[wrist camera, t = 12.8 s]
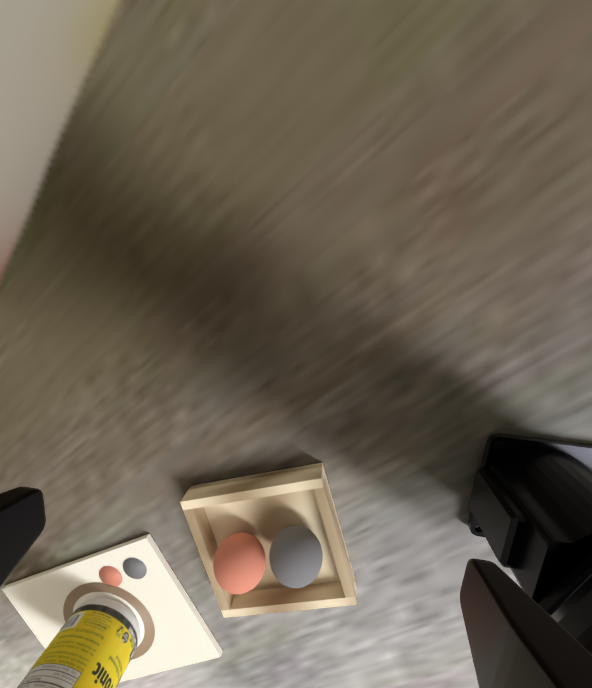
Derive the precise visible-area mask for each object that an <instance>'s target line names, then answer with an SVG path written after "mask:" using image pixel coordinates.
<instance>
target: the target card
mask: <svg viewBox="0 0 592 688" xmlns="http://www.w3.org/2000/svg"><path fill="white" fill-rule="evenodd" d="M2 590H3V592H4V593H5V594H6V596H7V597H8V598H9V600H10V601H11V603H12V604H13V605H14V607H15V608H16V609H17V611H18V612H19V614H20V615H21V616H22V618H23V619H24V620H25V622H26V623H27V624H28V626H29V627H30V629H31V630H32V631H33V633H34V634H35V635H36V637H37V638H38V640H39V641H40V642H41V644H42V645H43V646H44V648H45V649H46V648H47V647H48V645H49V644H50V643H51V641H52V640H53V639H54V637H55V636H56V635H57V633H58V632H59V631H60V629H61V628H62V627H63V625H64V624H65V623H66V621H67V620H68V619H69V617H70V616H71V615H72V614H73V612H74V611H75V610H76V609H77V607H78V606H79V605H81V604H82V603H83V602H85V601H87V600H89V599H93V598H107V599H111V600H114V601H117V602H119V603H121V604H123V605H124V606H126V607H127V608H128V609H129V610H130V611H131V612H132V613H133V614H134V616H135V617H136V619H137V621H138V623H139V626H140V632H141V634H140V641H139V644H138V646H137V648H136V650H135V652H134V655H133V657H132V659H131V661H130V662H129V664H128V666H127V668H126V670H125V672H124V674H123V676H122V678H121V680H120V682H123V681H127V680H131V679H135V678H139V677H143V676H146V675H150V674H154V673H158V672H162V671H166V670H170V669H174V668H178V667H182V666H186V665H190V664H194V663H198V662H202V661H206V660H210V659H214V658H218V657H221V654H222V649H221V648H220V646H219V644H218V643H217V641H216V640H215V638H214V636H213V635H212V633H211V632H210V630H209V628H208V627H207V625H206V624H205V622H204V620H203V619H202V617H201V616H200V614H199V612H198V611H197V609H196V608H195V606H194V604H193V603H192V601H191V600H190V598H189V596H188V595H187V593H186V591H185V590H184V588H183V587H182V585H181V583H180V582H179V580H178V579H177V577H176V575H175V574H174V572H173V571H172V569H171V567H170V566H169V564H168V563H167V561H166V559H165V558H164V556H163V555H162V553H161V551H160V550H159V548H158V547H157V545H156V543H155V542H154V540H153V539H152V537H151V535H150V534H147V535H144V536H141V537H139V538H136V539H133V540H130V541H127V542H125V543H122V544H119V545H116V546H114V547H111V548H108V549H105V550H102V551H100V552H97V553H94V554H91V555H88V556H86V557H83V558H80V559H77V560H74V561H72V562H69V563H66V564H63V565H60V566H58V567H55V568H52V569H49V570H46V571H44V572H41V573H38V574H35V575H33V576H30V577H27V578H24V579H21V580H19V581H16V582H13V583H10V584H7V585H6V586H5V587H4V588H3V589H2Z"/></svg>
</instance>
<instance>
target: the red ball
mask: <svg viewBox="0 0 592 688" xmlns="http://www.w3.org/2000/svg"><path fill="white" fill-rule="evenodd" d="M265 566H266V556H265V551H264V548H263V546H262V544H261V543H260V541H259V540H258V539H257V538H256V537H255V536H253V535H251V534H249V533H235V534H233V535H231V536H229V537H227V538H226V539H225V540H224V541H223V542H222V543H221V544H220V546H219V547H218V549H217V551H216V554H215V557H214V563H213V570H214V575H215V578H216V581H217V582H218V584H219V585H220V587H221V588H222V589H224V590H225V591H226V592H228V593H231V594H244V593H246V592H248V591H250V590H252V589H253V588H254V587H255V586H256V585H257V584H258V583H259V581H260V580H261V578H262V576H263V574H264V571H265Z"/></svg>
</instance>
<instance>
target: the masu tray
mask: <svg viewBox="0 0 592 688" xmlns="http://www.w3.org/2000/svg"><path fill="white" fill-rule="evenodd" d="M180 503H181V506H182V509H183V511H184V514H185V517H186V519H187V522H188V524H189V527H190V530H191V532H192V535H193V538H194V540H195V543H196V545H197V548H198V551H199V553H200V556H201V559H202V561H203V564H204V566H205V569H206V572H207V574H208V577H209V580H210V582H211V585H212V588H213V590H214V593H215V595H216V598H217V601H218V603H219V606H220V609H221V611H222V614H223V616H224V618H226V617H237V616H247V615H257V614H267V613H277V612H287V611H297V610H307V609H317V608H327V607H338V606H348V605H357V593H356V580H355V576H354V573H353V569H352V566H351V562H350V559H349V555H348V552H347V548H346V544H345V541H344V537H343V534H342V530H341V527H340V523H339V520H338V516H337V513H336V509H335V505H334V502H333V498H332V495H331V491H330V488H329V484H328V481H327V477H326V474H325V470H324V466H323V463H317V464H311V465H306V466H300V467H294V468H289V469H283V470H277V471H271V472H266V473H260V474H254V475H249V476H243V477H237V478H232V479H226V480H220V481H215V482H209V483H203V484H198V485H192V486H190V488H189V489H188V491H187V492H186V494H185V495H184V497H183V498H182V500H181V501H180ZM292 525H300V526H303V527H306V528H308V529H310V530H311V531H312V532H313V533H314V534H315V535H316V537H317V538H318V540H319V542H320V544H321V548H322V553H323V560H322V566H321V569H320V572H319V574H318V575H317V577H316V578H315V579H314V581H313V582H311V583H310V584H309V585H307V586H305V587H302V588H290V587H287V586H285V585H283V584H282V583H280V582H279V581H278V580H277V578H276V577H275V576H274V574H273V572H272V569H271V566H270V561H269V552H270V547H271V544H272V542H273V540H274V538H275V536H276V535H277V534H278V533H279V532H280V531H281V530H282V529H284V528H286V527H288V526H292ZM235 533H249V534H251V535H253V536H255V537H256V538H257V539H258V540H259V541H260V543H261V544H262V546H263V548H264V551H265V556H266V566H265V571H264V574H263V576H262V578H261V580H260V581H259V583H258V584H257V585H256V586H255V587H254V588H253V589H252V590H250V591H248V592H246V593H244V594H231V593H228V592H226V591H225V590H224V589H222V588H221V587H220V585H219V584H218V582H217V581H216V578H215V575H214V570H213V563H214V557H215V554H216V551H217V549H218V547H219V546H220V544H221V543H222V542H223V541H224V540H225V539H226V538H227V537H229V536H231V535H233V534H235Z"/></svg>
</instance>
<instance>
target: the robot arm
mask: <svg viewBox="0 0 592 688" xmlns="http://www.w3.org/2000/svg"><path fill="white" fill-rule="evenodd" d="M498 441H501V444H500V445H497V446H495V444H496V442H498ZM469 508H470V510H471V512H470V516H469V520H468V526H469V528H470V530H471V532H472V533H473V534H474V535H476V536H481V537H486V539H487V541H488V543H489V545H490V546H491V548H492V550H493V552H494V554H495V556H496V557H497V559H498V561H499V562H500V563H501V565H502V566H503V567H507V568H511V570H512V572H513V574H514V575H515V577H516V579H517V581H518V582H519V584H520V586H521V588H522V589H521V588H520V587H519V586H518V585H517V584H516V583H515V582H514V581H513V580H512V579H511V578H510V577H509V576H508V575H507V574H505V573H504V572H503V571H502V570H501V569H500V568H499V567H498V566H497V565H496V564H494V563H493V562H490V561H486V560H480V559H470V560H469V561H468V563H467V566H466V570H465V574H464V578H463V582H462V587H461V591H460V603H461V609H462V613H463V617H464V622H465V626H466V631H467V635H468V640H469V644H470V648H471V653H472V657H473V662H474V666H475V671H476V675H477V680H478V684H479V688H592V445H586V444H578V443H570V442H562V441H554V440H547V439H539V438H531V437H523V436H515V435H507V434H499V433H498V434H493V435H491V436H490V437H489V438H488V440H487V444H486V448H485V452H484V457H483V461H482V465H481V467H480V468H479V469H478V470H477V473H476V477H475V481H474V485H473V490H472V494H471V498H470V503H469ZM45 522H46V517H45V508H44V499H43V493H42V492H41V490H39V489H36V488H30V487H18V488H15V489H12V490H9V491H6V492H4V493H1V494H0V587H1V585H2V584H3V583H4V581H5V580H6V579H7V577H8V576H9V575H10V573H11V572H12V571H13V569H14V568H15V567H16V566H17V564H18V563H19V562H20V560H21V559H22V558H23V556H24V555H25V554H26V552H27V551H28V550H29V548H30V547H31V546H32V545H33V543H34V542H35V541H36V539H37V538H38V537H39V535H40V534H41V532H42V531H43V529H44V526H45ZM477 525H479V526H480V527H476V526H477Z"/></svg>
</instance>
